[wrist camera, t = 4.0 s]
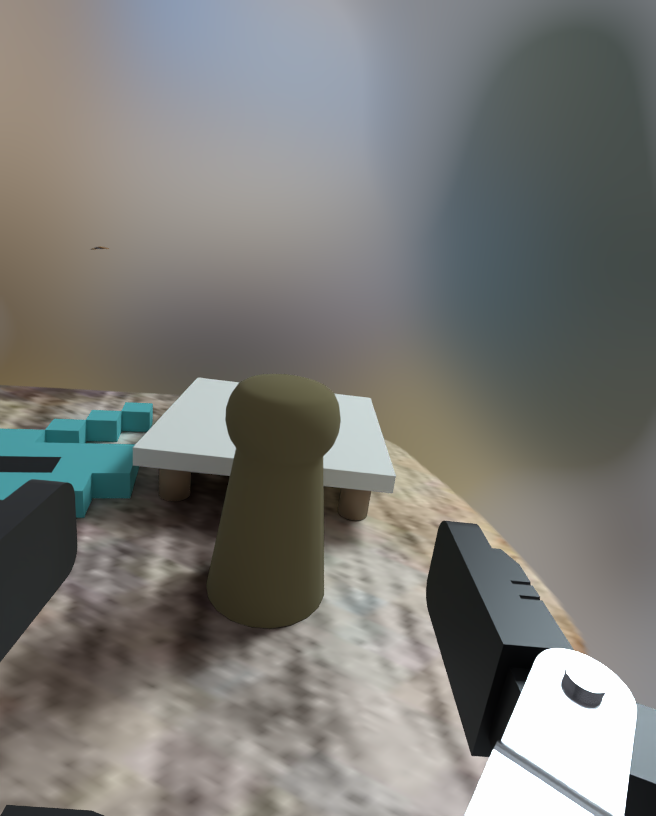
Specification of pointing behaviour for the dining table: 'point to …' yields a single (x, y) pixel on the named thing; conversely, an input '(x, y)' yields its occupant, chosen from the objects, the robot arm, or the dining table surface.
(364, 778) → the dining table surface
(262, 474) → the cork
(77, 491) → the alien figure
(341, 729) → the dining table surface
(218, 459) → the peg shelf
